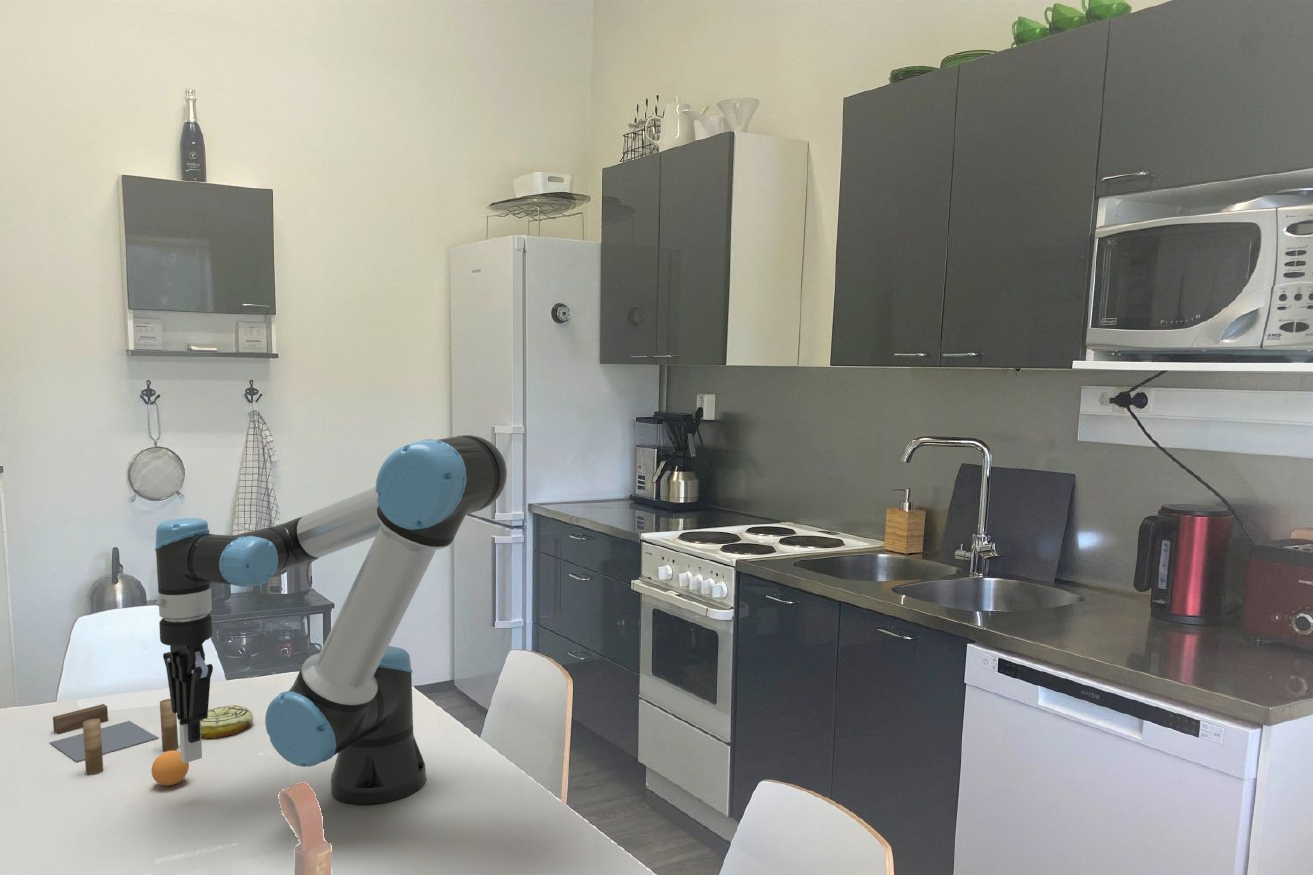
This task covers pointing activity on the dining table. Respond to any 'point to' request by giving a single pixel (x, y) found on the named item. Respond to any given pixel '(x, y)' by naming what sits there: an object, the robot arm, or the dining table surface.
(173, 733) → the right post
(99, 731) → the left post
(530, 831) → the dining table surface
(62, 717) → the stopper wall
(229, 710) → the decorated donut
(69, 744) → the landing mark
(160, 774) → the ball
